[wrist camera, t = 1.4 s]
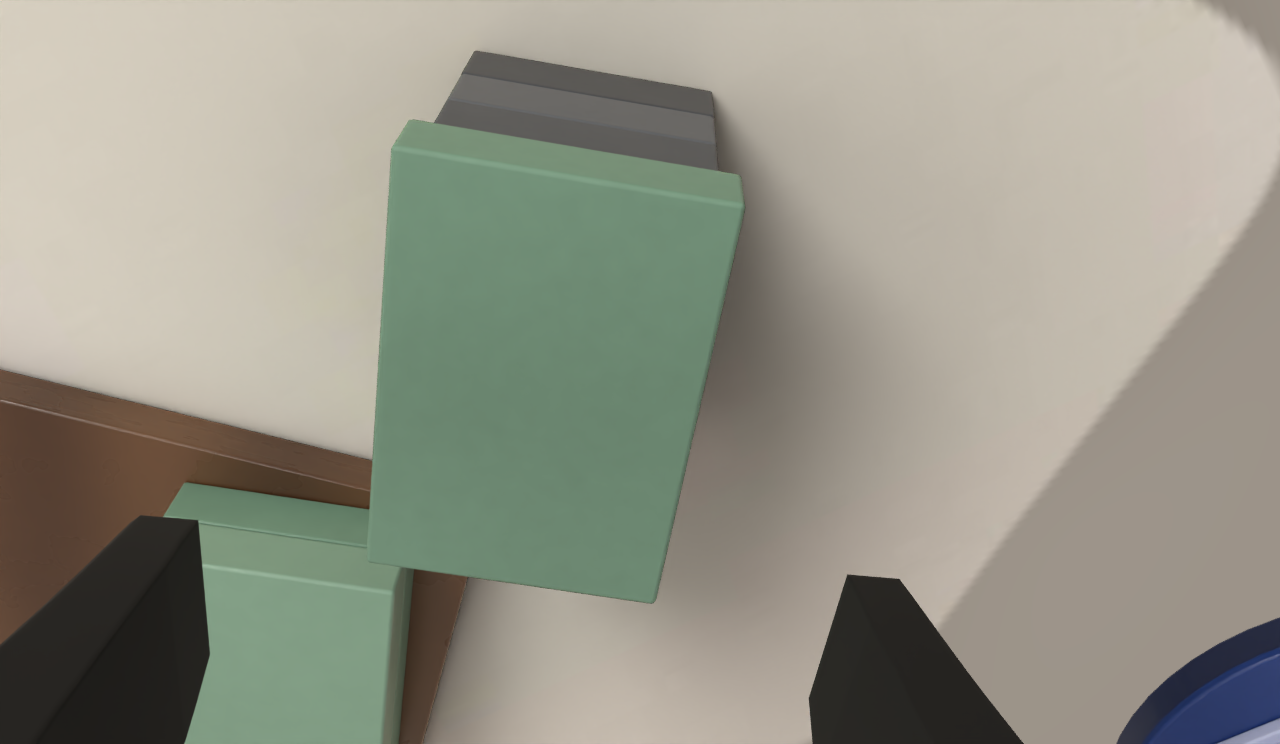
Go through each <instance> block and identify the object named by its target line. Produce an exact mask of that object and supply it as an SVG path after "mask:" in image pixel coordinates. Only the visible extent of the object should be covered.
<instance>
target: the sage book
mask: <svg viewBox="0 0 1280 744" xmlns="http://www.w3.org/2000/svg"><path fill="white" fill-rule="evenodd" d="M744 212H745V202H744V195H743V187H742V180H741V176H739V175H737V174H732V173H726V172H720V171H714V170H708V169H703V168H697V167H691V166H685V165H679V164H673V163H667V162H661V161H655V160H649V159H643V158H638V157H632V156H626V155H620V154H614V153H608V152H602V151H596V150H590V149H584V148H579V147H573V146H567V145H561V144H555V143H549V142H543V141H537V140H531V139H525V138H519V137H514V136H508V135H502V134H496V133H490V132H484V131H478V130H472V129H466V128H460V127H454V126H449V125H443V124H437V123H431V122H425V121H419V120H409V121H408V123H407V124H406V126H405V128H404V129H403V131H402V132H401V134H400V135H399V137H398V139H397V140H396V142H395V143H394V145H393V147H392V149H391V163H390V179H389V196H388V212H387V229H386V245H385V261H384V278H383V294H382V311H381V327H380V344H379V360H378V376H377V393H376V409H375V426H374V442H373V459H372V475H371V491H370V508H369V524H368V541H367V560H368V562H370V563H376V564H383V565H390V566H397V567H404V568H410V569H417V570H424V571H431V572H438V573H445V574H452V575H458V576H465V577H472V578H479V579H486V580H493V581H499V582H506V583H513V584H520V585H527V586H534V587H540V588H547V589H554V590H561V591H568V592H575V593H581V594H588V595H595V596H602V597H609V598H616V599H623V600H629V601H636V602H643V603H650V604H651V603H654V602H655V600H656V598H657V594H658V589H659V585H660V580H661V576H662V572H663V567H664V563H665V558H666V554H667V550H668V545H669V541H670V536H671V532H672V528H673V523H674V519H675V515H676V510H677V506H678V501H679V497H680V493H681V488H682V484H683V479H684V475H685V471H686V466H687V462H688V458H689V453H690V449H691V444H692V440H693V436H694V431H695V427H696V422H697V418H698V414H699V409H700V405H701V401H702V396H703V392H704V387H705V383H706V379H707V374H708V370H709V365H710V361H711V357H712V352H713V348H714V343H715V339H716V335H717V330H718V326H719V322H720V317H721V313H722V308H723V304H724V300H725V295H726V291H727V286H728V282H729V278H730V273H731V269H732V265H733V260H734V256H735V251H736V247H737V243H738V238H739V234H740V229H741V225H742V221H743V216H744Z"/></svg>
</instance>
